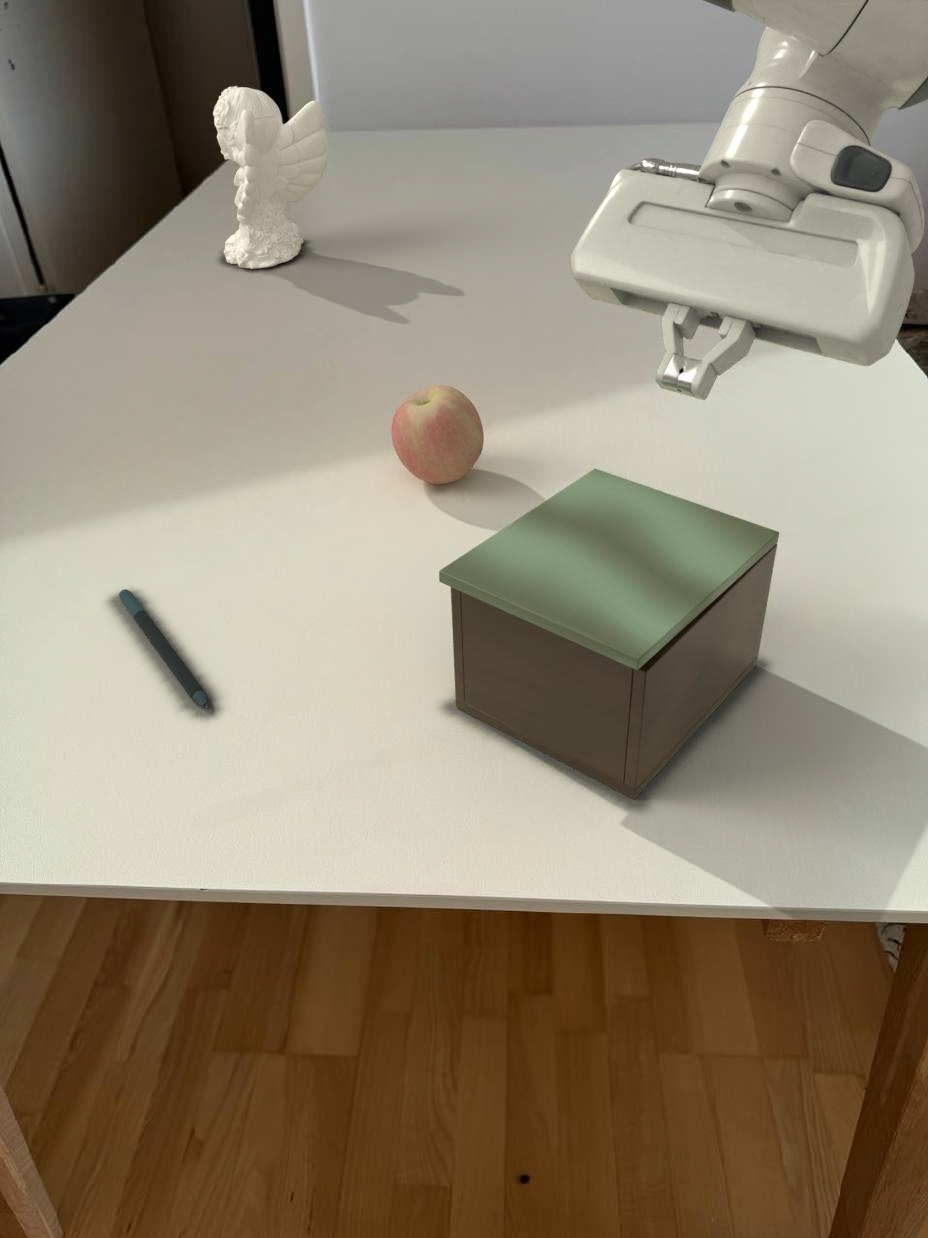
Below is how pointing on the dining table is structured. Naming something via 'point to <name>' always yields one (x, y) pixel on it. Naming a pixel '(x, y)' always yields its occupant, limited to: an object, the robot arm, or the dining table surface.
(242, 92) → the cherub figurine
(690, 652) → the coldframe
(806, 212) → the robot arm
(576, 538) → the lid
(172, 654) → the pen
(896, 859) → the dining table surface
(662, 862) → the dining table surface
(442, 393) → the apple
